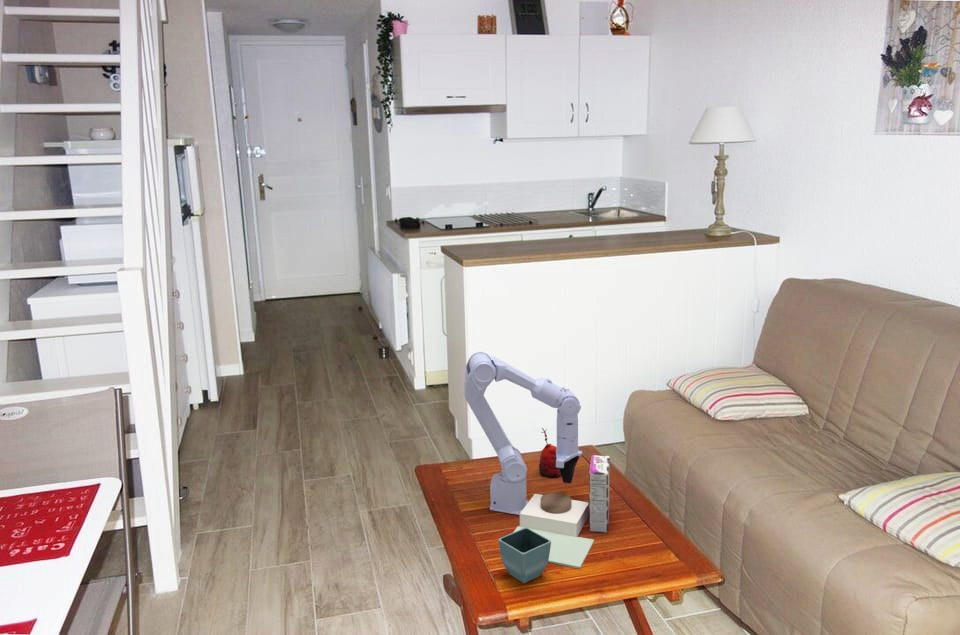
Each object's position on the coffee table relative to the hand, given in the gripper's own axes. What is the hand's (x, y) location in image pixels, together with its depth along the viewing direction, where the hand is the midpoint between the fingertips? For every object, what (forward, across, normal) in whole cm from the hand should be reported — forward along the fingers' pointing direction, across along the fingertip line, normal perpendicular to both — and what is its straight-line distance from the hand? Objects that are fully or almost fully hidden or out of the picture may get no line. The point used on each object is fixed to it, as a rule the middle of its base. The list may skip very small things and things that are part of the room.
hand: (567, 482), depth 202 cm
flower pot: (+6, -37, -1) cm, 38 cm away
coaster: (+2, -10, 0) cm, 11 cm away
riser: (+6, -11, 0) cm, 13 cm away
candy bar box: (+6, -7, -11) cm, 14 cm away
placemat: (+6, -24, -2) cm, 25 cm away
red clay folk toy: (+6, +17, +10) cm, 20 cm away
